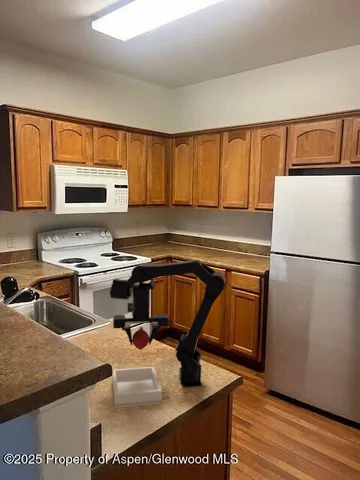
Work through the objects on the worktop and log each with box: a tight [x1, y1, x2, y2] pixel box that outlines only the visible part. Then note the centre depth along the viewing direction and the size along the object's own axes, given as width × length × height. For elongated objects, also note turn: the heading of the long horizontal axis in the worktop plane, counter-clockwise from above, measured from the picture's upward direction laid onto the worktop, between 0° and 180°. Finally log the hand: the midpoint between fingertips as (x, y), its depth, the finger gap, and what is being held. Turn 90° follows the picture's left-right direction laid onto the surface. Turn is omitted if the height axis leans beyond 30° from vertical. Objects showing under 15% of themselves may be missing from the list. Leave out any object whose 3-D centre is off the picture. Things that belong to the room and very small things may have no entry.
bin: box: [111, 366, 163, 409], centre depth 116 cm, size 14×16×4 cm
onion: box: [132, 326, 149, 351], centre depth 125 cm, size 6×6×8 cm
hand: (140, 344), depth 126 cm, fingers closed on onion, 6 cm apart
